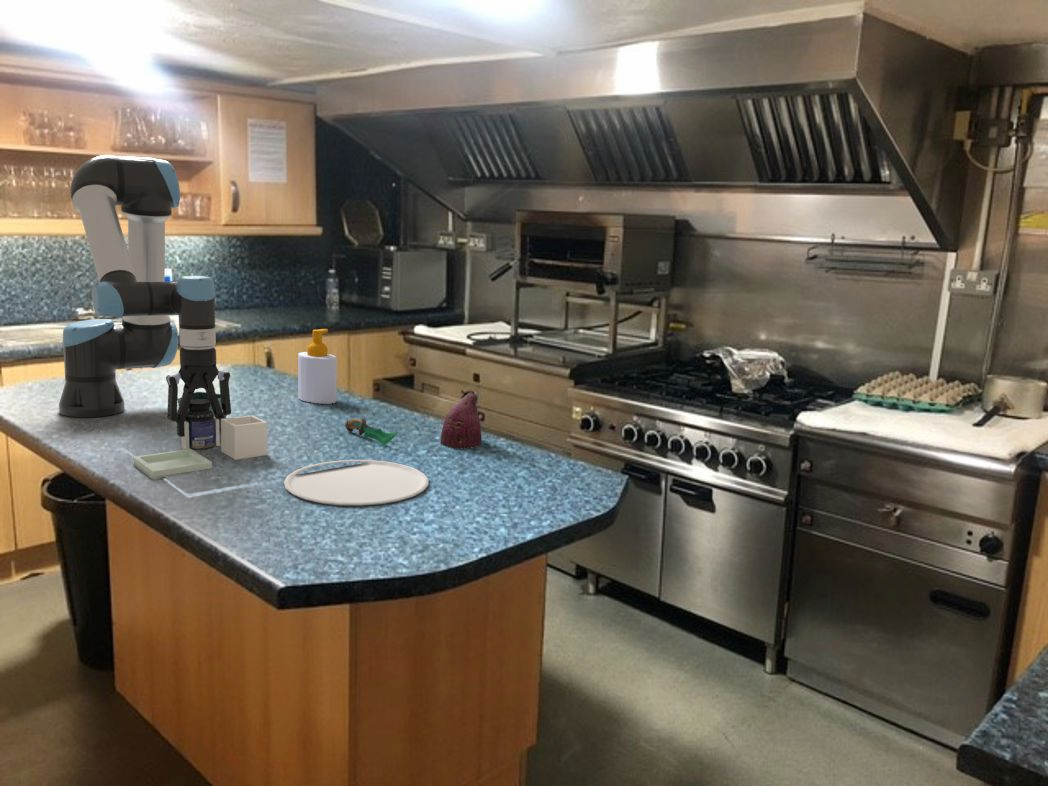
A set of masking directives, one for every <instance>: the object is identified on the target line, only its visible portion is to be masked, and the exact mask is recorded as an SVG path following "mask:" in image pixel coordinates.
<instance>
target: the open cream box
mask: <svg viewBox="0 0 1048 786" xmlns="http://www.w3.org/2000/svg"><path fill="white" fill-rule="evenodd" d="M220 442H221V444H220V445H221V452H222V454H225V455H227V456H228V457H230V459H231V458H232V459H234V460H243V459H249V458H255V457H262V456H263V457H264V456H268V422H267V421H265V420H264V419H261V418H260V417H257V416H255V415H254V414H253V415H252V414H251V415H244V416H235V417H228V418H227V417H226V419H221V432H220Z"/></svg>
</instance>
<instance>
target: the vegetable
mask: <svg viewBox="0 0 1048 786" xmlns="http://www.w3.org/2000/svg"><path fill="white" fill-rule="evenodd" d="M476 398H477V397H476V393H475V391H474V390H472V391H470V392H469V393H467V394H466V395H465V396H464V397H462V398H461V399H460V400H459V401H458V402H456V403H455V404H454V405H453V406H452V408H450V410H449V411H448V412H447V414H446V416H445V418H444V421H443V424H442V428H441V432H440V444H441V445H442V444H443V445H445V447H447V446H448V447H447V448H450V447H452V448H451V449H455V448H460V449H459V450H465V449H464V448H469V449H472V448H471V447H474V448H477V447H476V446H479V447H481V446H482V431H481V422H480V418H479V415H478V410H477V405H476V404H477V399H476ZM443 445H442V446H443ZM480 445H481V446H480ZM461 448H463V449H461Z"/></svg>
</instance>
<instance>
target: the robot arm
mask: <svg viewBox="0 0 1048 786" xmlns="http://www.w3.org/2000/svg"><path fill="white" fill-rule="evenodd" d="M70 199H71V203H72V206H73V208H74V209H75V210H76V211H77V212H78V213H79V214H80V217H81V221H82V222H81V223H82V225H83V228H84V232H85V237H86V239H87V243H88V245H89V250H90V253H91V257H92V260H93V264H94V268H95V271H96V275H97V279H98V282H95V283H94V284H93V286H92V291H91V292H92V293H91V298H92V299H91V300H92V306H93V310H94V312H95V314H96V315H98V317H99V316H100V317H105V318H93V319H86V320H80V321H77V322H76V321H75V322H72V323H69V324H67V325H66V326H65V327H64V329H63V330H62V343H61V344H62V350H63V361H64V363H63V365H64V367H63V368H64V381H65V383H64V386H63V389H62V393H61V395H60V399H59V403H58V412H59V414H60V415H63V416H65V417H71V418H72V417H73V418H98V417H107V416H112V415H113V416H114V415H117V414H119V413H121V412H122V413H123V412H124V411H125V410H126V409H125V408H126V407H125V400H124V398H123V395H122V392H121V390H120V386H119V385H118V382H117V378H116V377H117V376H116V373H117V372H116V371H117V370H128V369H129V370H131V369H132V370H133V369H145V368H151V369H155V368H158V367H167V366H169V365H171V363H173V361H174V360H175V358H176V355H177V353H178V348H179V347H178V346H179V345H180V349H179V367H180V369H179V370H178V373H175V374H173V375H170V374H168V375H166V376H165V379H166V383H167V385H168V387H167V389H168V391H167V411H166V413H167V414H166V415H167V419H169V420H170V421H172V422H175V423H176V434H177V436H178V437H180V438H181V448H182V450H185V449H189V423H188V422H186V421H185V419H186V416H187V412H188V409H189V405H190V402H191V399H192V395H193V394H194V393H195V392H196V390H198V389H199V390H200V389H204V392H206V393H207V396H208V399H209V401H210V404H211V407H212V410H213V412H214V415H215V417H214V437H215V446H216V447H219V446H220V445H221V444H220V442H221V437H220V433H221V419H224V418H225V416H226V415H227V416H228V415H231V414H232V405H231V396H230V395H231V393H230V386H229V385H230V383H229V382H230V378H231V373H230V372H228V371H226V370H219V368H218V367H217V349H216V347H214V346H216V345H217V344H216V343H217V342H216V339H217V338H216V333H217V332H216V291H215V283H214V282H215V281H214V280H213V279H214V278H212V277H211V276H204V275H182V276H180V277H179V278H178V279H175V280H171V281H165V280H166V279H165V278H166V277H165V275H166V272H165V271H166V270H165V269H166V267H165V265H166V263H165V262H166V251H165V250H166V222H167V220H168V219H170V218H171V217H172V212H173V211H172V209H176V208H178V207H179V205H180V201H181V188H180V183H179V178H178V175H177V172H176V170H175V168H174V166H173V165H172V163H171V162H169V161H167V160H164V159H158V158H153V157H139V156H137V157H136V156H125V155H124V156H121V155H110V154H109V155H108V154H104V155H97V156H94V157H92V158H90V159H89V160H87V161H84V163H83V164H81V165H80V167H79V168H78V169H77V170H76V171H75V173H74V175H73V177H72V180H71V182H70ZM116 206H121V207H120V208H121V209H120V210H121V213H122V214H123V215H124V216H125V217H126V218H127V234H128V235H127V243H128V244H127V243H126V239H125V237H124V232H123V230H122V226H121V223H120V220H119V217H118V213H117V210H116V209H117V208H116ZM170 316H178V327H177V325H176V324H175V323H174V322H172V321H171V317H170ZM106 317H108V318H106ZM111 318H121V324H115V322H114V321H113V319H111ZM216 378H217V379H218V381H219V383H218V386H219V394H220V396H221V406H222V409H221V406H220V404H219V401H218V398H217V395H216V394H217V392H216V388H215V384H214V381H215V379H216ZM180 380H181V381H183V383H184V385H183V388H182V390H183V392H182V395H181V397H182V398H181V397H180V398H181V401H180V405H178V398H179V397H178V395H179V394H178V391H179V386H178V385H179V383H180ZM227 416H226V417H227ZM215 446H214V447H215Z"/></svg>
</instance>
